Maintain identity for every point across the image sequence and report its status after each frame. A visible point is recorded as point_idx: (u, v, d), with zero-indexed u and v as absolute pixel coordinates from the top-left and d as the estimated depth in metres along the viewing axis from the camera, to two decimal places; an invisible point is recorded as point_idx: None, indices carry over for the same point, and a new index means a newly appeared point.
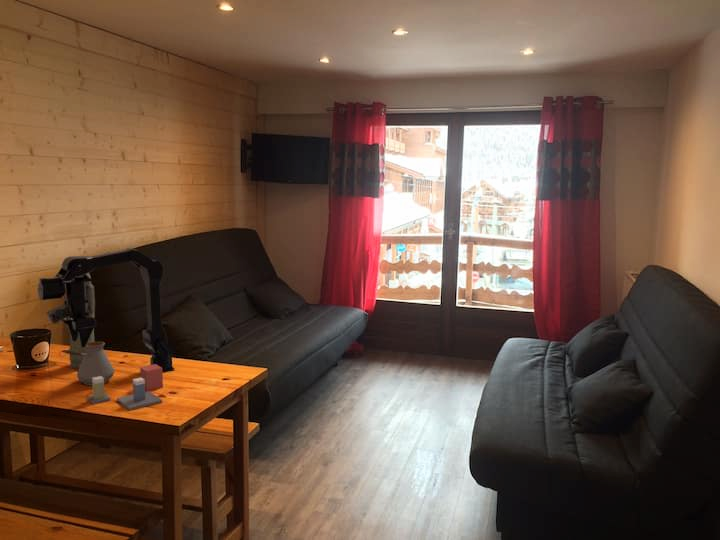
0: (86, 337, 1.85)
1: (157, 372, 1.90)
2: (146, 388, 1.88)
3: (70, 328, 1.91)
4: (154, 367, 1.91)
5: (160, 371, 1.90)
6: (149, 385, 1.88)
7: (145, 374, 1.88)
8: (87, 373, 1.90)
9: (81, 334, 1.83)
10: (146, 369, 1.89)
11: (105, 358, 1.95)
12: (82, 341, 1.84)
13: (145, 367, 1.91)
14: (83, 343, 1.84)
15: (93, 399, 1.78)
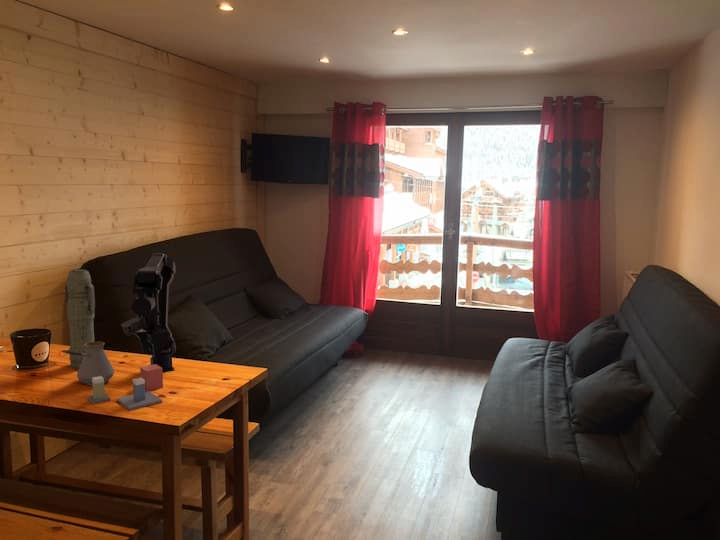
0: (160, 349, 1.86)
1: (157, 372, 1.90)
2: (146, 388, 1.88)
3: (141, 340, 1.92)
4: (154, 367, 1.91)
5: (160, 371, 1.90)
6: (149, 385, 1.88)
7: (145, 374, 1.88)
8: (87, 373, 1.90)
9: (155, 346, 1.85)
10: (146, 369, 1.89)
11: (105, 358, 1.95)
12: (156, 353, 1.86)
13: (145, 367, 1.91)
14: (156, 355, 1.86)
15: (93, 399, 1.78)
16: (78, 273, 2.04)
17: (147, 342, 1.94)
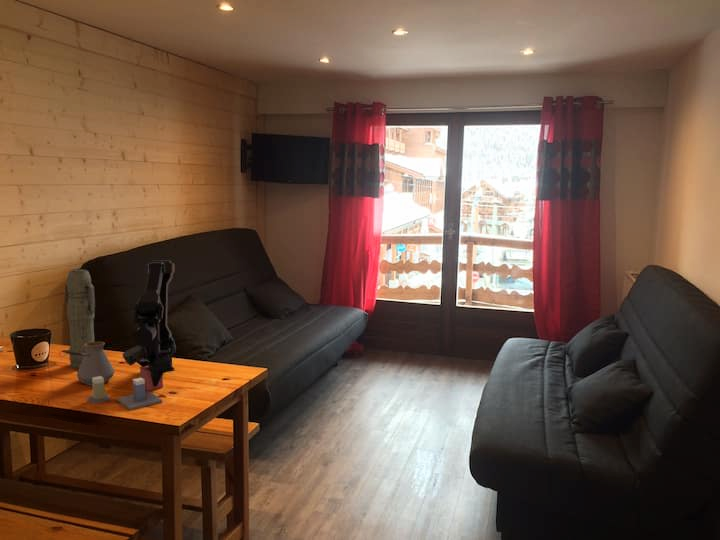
0: (159, 377, 1.89)
1: None
2: (146, 388, 1.88)
3: None
4: None
5: None
6: (149, 385, 1.88)
7: (145, 374, 1.88)
8: (87, 373, 1.90)
9: (154, 374, 1.87)
10: (146, 369, 1.89)
11: (105, 358, 1.95)
12: (155, 381, 1.89)
13: (145, 367, 1.91)
14: (155, 382, 1.89)
15: (93, 399, 1.78)
16: (78, 273, 2.04)
17: None
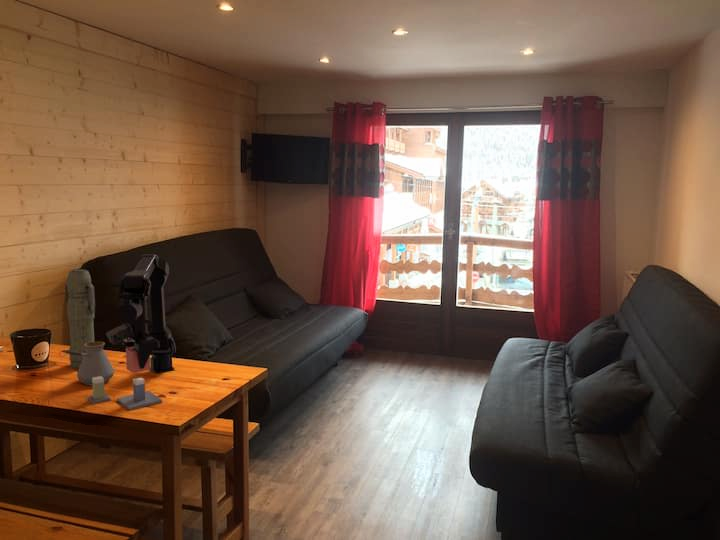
0: (146, 358, 1.75)
1: None
2: (132, 370, 1.74)
3: None
4: None
5: None
6: (135, 367, 1.74)
7: (131, 355, 1.74)
8: (87, 373, 1.90)
9: (140, 355, 1.73)
10: (132, 350, 1.75)
11: (105, 358, 1.95)
12: (141, 362, 1.74)
13: (131, 348, 1.77)
14: (142, 364, 1.75)
15: (93, 399, 1.78)
16: (78, 273, 2.04)
17: None
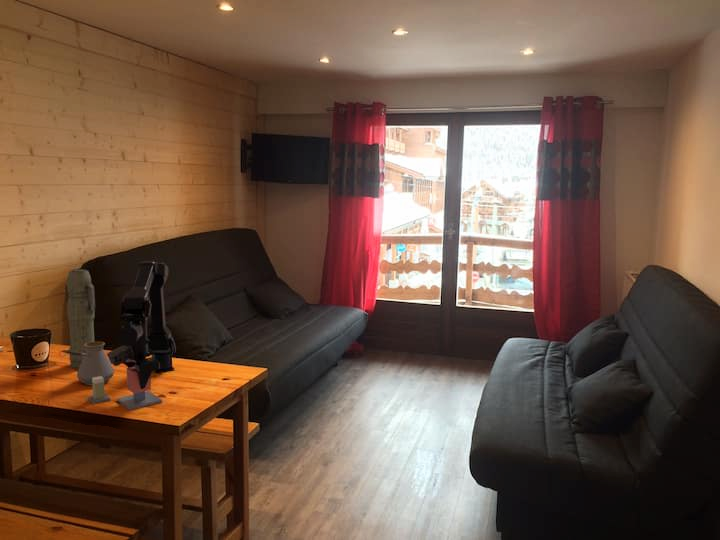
0: (146, 378, 1.76)
1: None
2: (133, 390, 1.75)
3: None
4: None
5: None
6: (136, 387, 1.75)
7: (131, 375, 1.75)
8: (87, 373, 1.90)
9: (141, 376, 1.74)
10: (133, 370, 1.75)
11: (105, 358, 1.95)
12: (142, 383, 1.75)
13: (132, 368, 1.77)
14: (143, 385, 1.76)
15: (93, 399, 1.78)
16: (78, 273, 2.04)
17: None
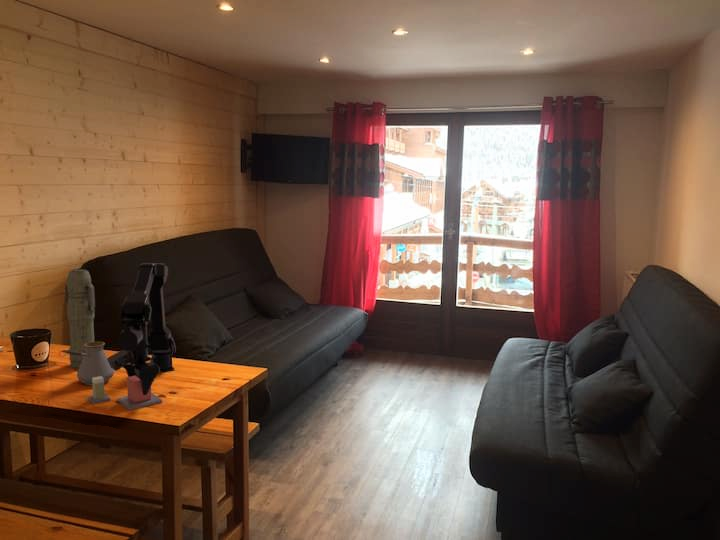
0: (149, 384, 1.75)
1: None
2: (133, 400, 1.76)
3: (129, 373, 1.81)
4: None
5: None
6: (136, 397, 1.75)
7: (132, 385, 1.75)
8: (87, 373, 1.90)
9: (144, 382, 1.73)
10: (133, 379, 1.76)
11: (105, 358, 1.95)
12: (145, 389, 1.74)
13: (132, 377, 1.78)
14: (145, 391, 1.74)
15: (93, 399, 1.78)
16: (78, 273, 2.04)
17: (135, 375, 1.82)
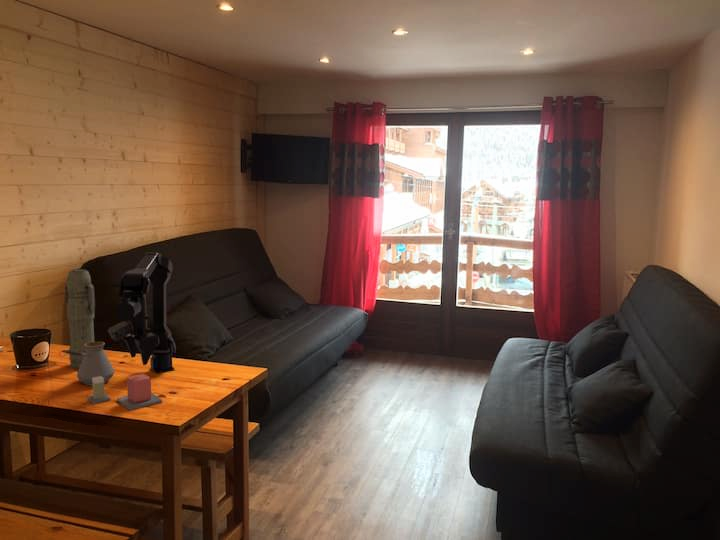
0: (148, 355, 1.80)
1: (145, 383, 1.77)
2: (133, 400, 1.76)
3: (129, 344, 1.86)
4: (142, 377, 1.78)
5: (148, 381, 1.77)
6: (136, 397, 1.75)
7: (132, 385, 1.75)
8: (87, 373, 1.90)
9: (143, 352, 1.78)
10: (133, 379, 1.76)
11: (105, 358, 1.95)
12: (144, 359, 1.80)
13: (132, 377, 1.78)
14: (145, 361, 1.80)
15: (93, 399, 1.78)
16: (78, 273, 2.04)
17: (135, 346, 1.87)
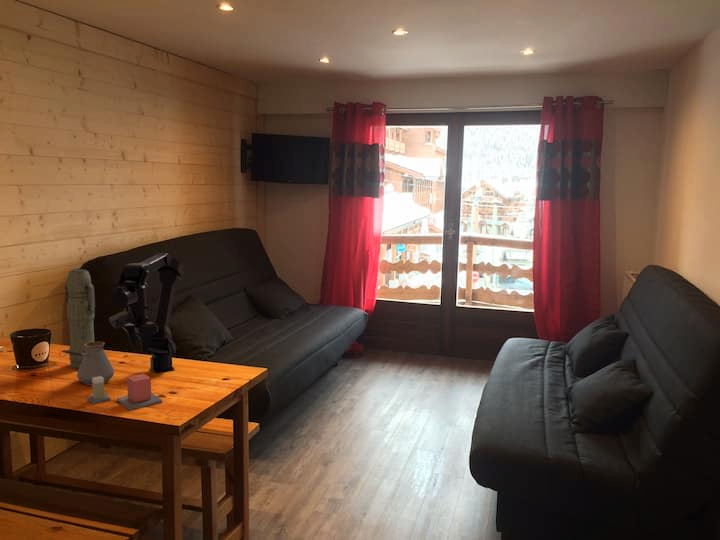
0: (147, 343, 1.88)
1: (145, 383, 1.77)
2: (133, 400, 1.76)
3: (129, 334, 1.94)
4: (142, 377, 1.78)
5: (148, 381, 1.77)
6: (136, 397, 1.75)
7: (132, 385, 1.75)
8: (87, 373, 1.90)
9: (143, 340, 1.87)
10: (133, 379, 1.76)
11: (105, 358, 1.95)
12: (143, 347, 1.88)
13: (132, 377, 1.78)
14: (144, 348, 1.88)
15: (93, 399, 1.78)
16: (78, 273, 2.04)
17: (135, 336, 1.96)
